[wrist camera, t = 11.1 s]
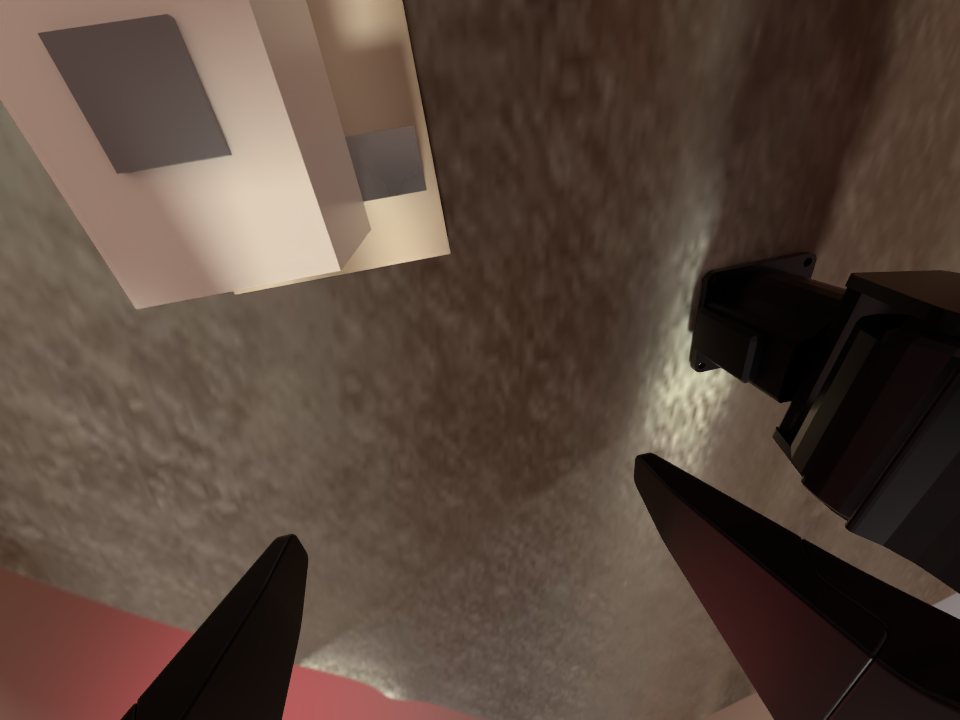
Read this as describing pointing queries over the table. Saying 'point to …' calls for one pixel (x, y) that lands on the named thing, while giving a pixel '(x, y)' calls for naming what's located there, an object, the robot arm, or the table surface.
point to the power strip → (187, 138)
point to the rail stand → (380, 131)
